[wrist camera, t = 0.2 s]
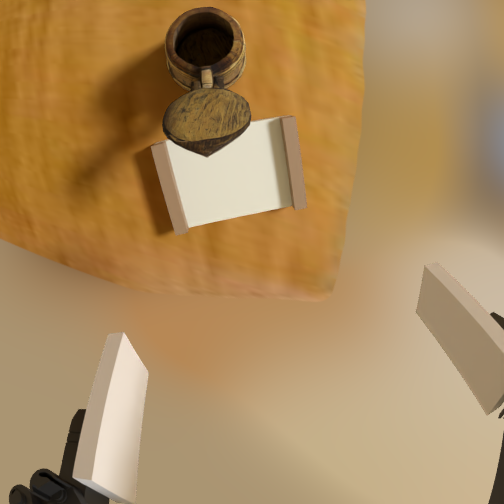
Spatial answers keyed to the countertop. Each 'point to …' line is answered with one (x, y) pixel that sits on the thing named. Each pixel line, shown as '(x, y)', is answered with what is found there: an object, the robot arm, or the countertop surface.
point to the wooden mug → (206, 81)
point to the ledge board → (233, 175)
